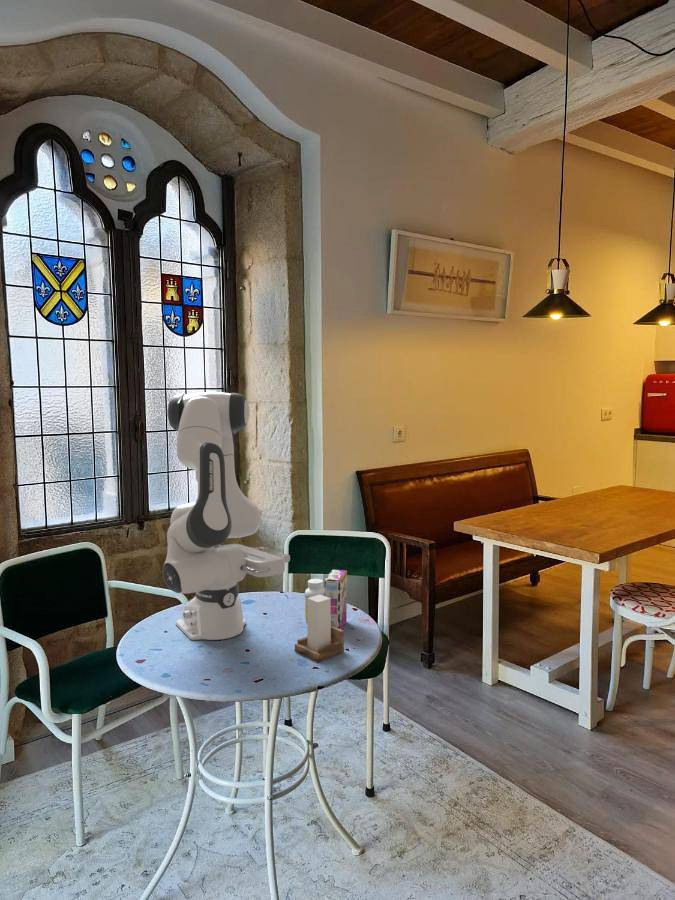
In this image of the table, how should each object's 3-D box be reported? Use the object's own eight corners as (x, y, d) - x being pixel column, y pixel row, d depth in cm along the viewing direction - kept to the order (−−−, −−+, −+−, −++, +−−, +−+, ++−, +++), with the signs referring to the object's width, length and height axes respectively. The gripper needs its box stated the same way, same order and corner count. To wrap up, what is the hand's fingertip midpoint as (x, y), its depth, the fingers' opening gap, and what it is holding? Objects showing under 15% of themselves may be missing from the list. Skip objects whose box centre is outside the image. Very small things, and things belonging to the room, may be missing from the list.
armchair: (294, 651, 173) (294, 630, 173) (320, 641, 180) (320, 621, 179) (317, 662, 167) (317, 640, 166) (343, 651, 173) (343, 630, 172)
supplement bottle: (321, 616, 200) (320, 576, 199) (330, 623, 194) (330, 582, 193) (301, 619, 197) (301, 579, 196) (310, 626, 191) (310, 585, 190)
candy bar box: (340, 635, 184) (340, 580, 183) (323, 634, 185) (323, 579, 184) (347, 621, 195) (347, 569, 194) (331, 620, 196) (331, 568, 195)
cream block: (307, 647, 173) (307, 598, 172) (321, 642, 177) (320, 594, 175) (318, 652, 170) (318, 602, 169) (332, 647, 173) (331, 598, 172)
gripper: (255, 560, 143) (302, 549, 153) (207, 543, 158) (253, 534, 168) (256, 587, 144) (303, 574, 153) (208, 568, 159) (253, 558, 168)
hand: (276, 553), depth 161 cm, fingers open, 8 cm apart
